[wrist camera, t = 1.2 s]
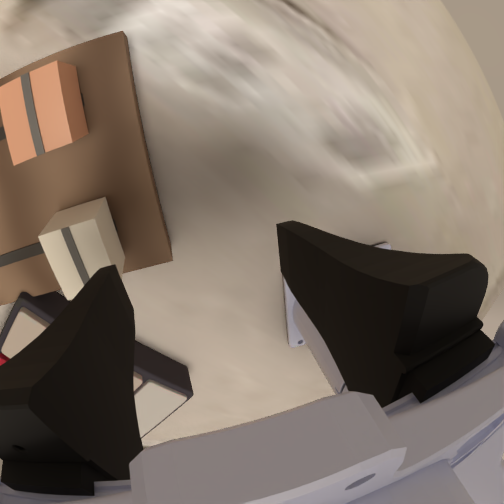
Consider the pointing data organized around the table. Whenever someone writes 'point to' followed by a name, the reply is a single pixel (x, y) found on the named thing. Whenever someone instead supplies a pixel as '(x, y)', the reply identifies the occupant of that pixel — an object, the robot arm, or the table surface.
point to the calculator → (145, 359)
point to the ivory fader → (81, 244)
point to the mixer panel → (83, 174)
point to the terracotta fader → (42, 111)
